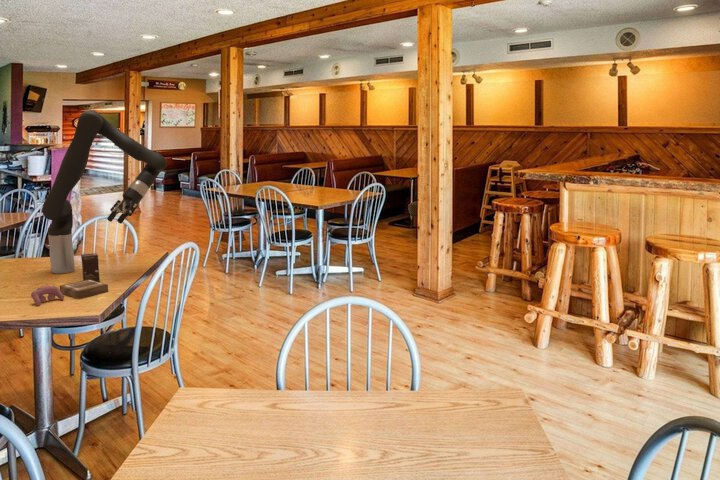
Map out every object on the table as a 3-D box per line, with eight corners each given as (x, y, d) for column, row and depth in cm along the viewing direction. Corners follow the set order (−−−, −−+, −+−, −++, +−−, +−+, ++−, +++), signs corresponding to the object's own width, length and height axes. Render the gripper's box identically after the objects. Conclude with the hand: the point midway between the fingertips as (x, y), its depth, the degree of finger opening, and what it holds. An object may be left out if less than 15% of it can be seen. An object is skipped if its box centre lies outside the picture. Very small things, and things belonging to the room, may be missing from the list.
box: (84, 284, 222) (82, 256, 220) (83, 282, 226) (80, 254, 224) (100, 282, 226) (98, 254, 223) (98, 280, 229) (96, 252, 227)
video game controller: (60, 302, 204) (55, 285, 204) (65, 299, 201) (60, 281, 202) (33, 308, 196) (27, 290, 196) (38, 305, 193) (32, 287, 194)
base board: (60, 293, 210) (59, 285, 209) (89, 286, 220) (88, 278, 219) (78, 299, 203) (78, 290, 202) (108, 291, 213) (107, 283, 212)
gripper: (121, 185, 239) (98, 214, 232) (138, 187, 230) (115, 217, 224) (133, 196, 244) (112, 225, 237) (150, 198, 235) (128, 228, 229)
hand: (113, 221), depth 231 cm, fingers open, 8 cm apart
